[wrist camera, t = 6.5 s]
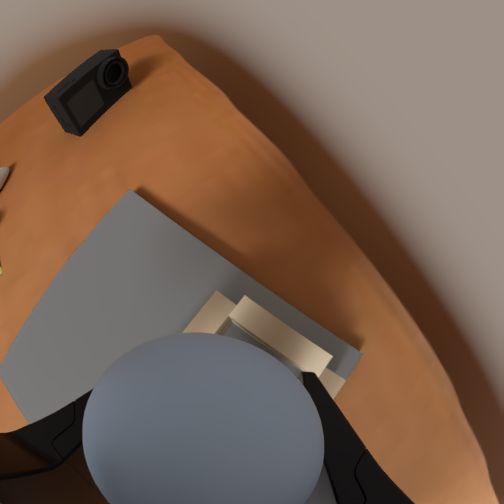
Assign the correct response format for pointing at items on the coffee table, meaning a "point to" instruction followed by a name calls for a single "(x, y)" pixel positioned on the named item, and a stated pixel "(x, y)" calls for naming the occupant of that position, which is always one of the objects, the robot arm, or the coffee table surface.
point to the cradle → (266, 335)
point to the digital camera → (89, 91)
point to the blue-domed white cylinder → (202, 426)
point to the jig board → (133, 307)
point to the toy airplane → (3, 172)
